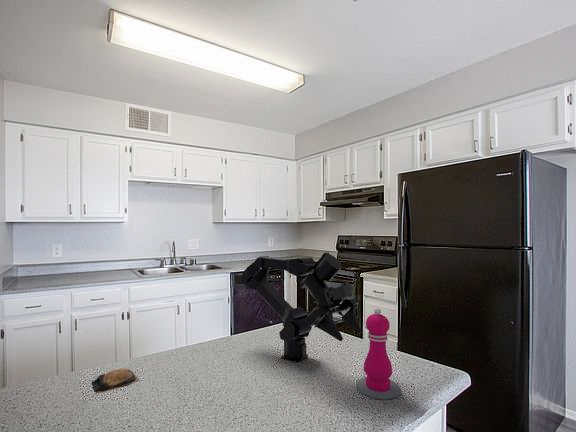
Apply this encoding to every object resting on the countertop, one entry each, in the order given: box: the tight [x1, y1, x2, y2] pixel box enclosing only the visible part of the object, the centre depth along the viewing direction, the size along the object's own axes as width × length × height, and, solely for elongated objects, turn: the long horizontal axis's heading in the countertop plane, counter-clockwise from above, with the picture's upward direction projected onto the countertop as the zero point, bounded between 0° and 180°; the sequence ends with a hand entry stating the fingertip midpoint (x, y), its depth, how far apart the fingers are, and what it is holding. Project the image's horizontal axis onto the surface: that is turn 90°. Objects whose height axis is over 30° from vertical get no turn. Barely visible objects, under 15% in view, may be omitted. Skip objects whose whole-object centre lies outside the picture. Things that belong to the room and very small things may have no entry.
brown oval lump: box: [90, 367, 140, 393], centre depth 87 cm, size 11×8×4 cm
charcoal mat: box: [356, 376, 401, 401], centre depth 84 cm, size 11×11×1 cm
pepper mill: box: [363, 307, 393, 392], centre depth 85 cm, size 7×7×20 cm
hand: (351, 336), depth 90 cm, fingers open, 9 cm apart
